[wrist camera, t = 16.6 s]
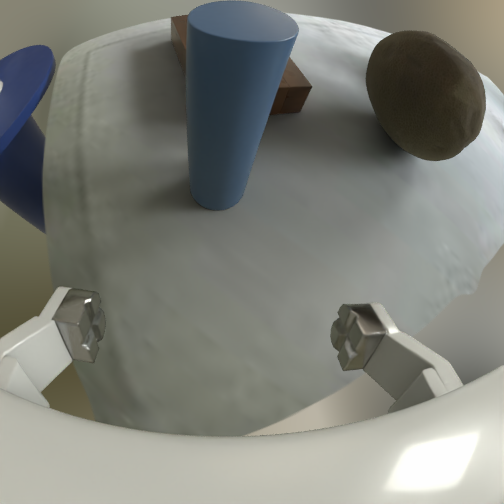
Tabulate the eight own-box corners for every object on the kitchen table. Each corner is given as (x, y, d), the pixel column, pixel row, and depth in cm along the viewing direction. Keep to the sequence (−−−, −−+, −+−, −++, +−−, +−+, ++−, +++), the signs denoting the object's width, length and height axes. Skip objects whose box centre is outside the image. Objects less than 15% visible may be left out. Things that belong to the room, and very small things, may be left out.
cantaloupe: (418, 113, 31) (473, 53, 17) (442, 194, 27) (527, 136, 13) (336, 79, 29) (384, -6, 15) (349, 162, 25) (438, 57, 11)
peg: (198, 217, 21) (202, 46, 7) (184, 170, 22) (178, 4, 8) (252, 202, 22) (319, 43, 8) (234, 158, 23) (272, 0, 9)
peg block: (203, 126, 23) (205, 97, 20) (171, 39, 27) (170, 17, 23) (300, 112, 26) (312, 86, 22) (243, 31, 29) (247, 10, 25)
